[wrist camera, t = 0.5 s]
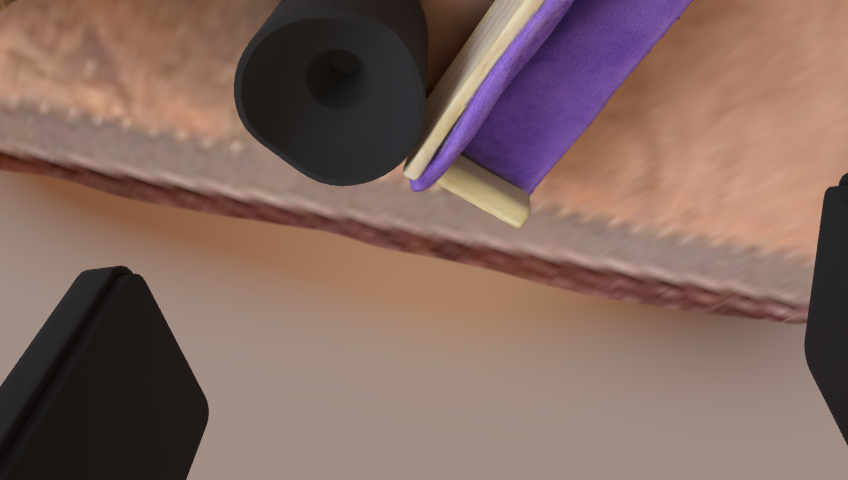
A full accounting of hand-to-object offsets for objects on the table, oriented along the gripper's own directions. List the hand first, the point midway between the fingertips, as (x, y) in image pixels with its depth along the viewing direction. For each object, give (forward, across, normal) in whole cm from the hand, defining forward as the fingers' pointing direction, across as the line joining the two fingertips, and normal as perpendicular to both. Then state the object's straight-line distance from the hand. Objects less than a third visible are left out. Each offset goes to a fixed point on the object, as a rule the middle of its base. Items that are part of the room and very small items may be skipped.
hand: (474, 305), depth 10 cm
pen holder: (+35, +8, +8) cm, 37 cm away
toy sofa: (+35, -4, +8) cm, 37 cm away
